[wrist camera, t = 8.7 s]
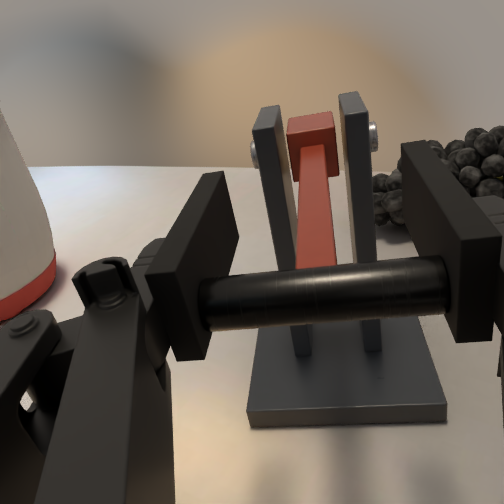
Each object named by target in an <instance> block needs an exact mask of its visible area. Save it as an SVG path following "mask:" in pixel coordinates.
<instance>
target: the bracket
mask: <svg viewBox="0 0 504 504" xmlns="http://www.w3.org/2000/svg"><path fill="white" fill-rule="evenodd" d="M338 98H339V110H340V121H341V132H342V143H343V154H344V165H345V176H346V187H347V199H348V210H349V221H350V232H351V243H352V254H353V263H360V262H369V261H377V251H376V234H375V216H374V199H373V182H372V167H371V166H372V165H371V152H375V151H377V150H378V135H377V128H376V123H375V122H374V121H373V122H369V114H368V110H367V109H366V107H365V105H364V103H363V101H362V99H361V97H360V95H359V93H358V92H357V91H355V92H349V93H344V94H339V96H338ZM252 134H253V140H254V141H252V142H251V157H252V161H253V165H254V168H255V169H259V171H260V176H261V181H262V187H263V192H264V197H265V202H266V208H267V213H268V218H269V223H270V228H271V234H272V239H273V244H274V249H275V254H276V260H277V265H278V270H279V271H280V270H290V269H295V266H296V242H297V214H296V207H295V201H294V194H293V188H292V182H291V175H290V169H289V162H288V157H287V149H286V143H285V137H284V130H283V124H282V117H281V111H280V106H279V105H275V106H269V107H264V108H261V110H260V112H259V115H258V117H257V119H256V122H255V124H254V127H253V129H252ZM246 412H247V416H248V419H249V423H250V426H251V427H271V426H304V425H336V424H369V423H402V422H435V421H446V420H447V401H446V398H445V395H444V392H443V389H442V387H441V384H440V381H439V378H438V375H437V372H436V369H435V366H434V363H433V360H432V357H431V354H430V351H429V348H428V345H427V343H426V340H425V337H424V334H423V331H422V328H421V325H420V322H419V319H418V316H413V317H400V318H386V319H373V320H360V321H347V322H333V323H320V324H307V325H294V326H280V327H267V328H259V330H258V336H257V343H256V350H255V356H254V363H253V370H252V376H251V383H250V390H249V396H248V403H247V409H246Z"/></svg>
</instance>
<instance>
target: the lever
mask: <svg viewBox="0 0 504 504" xmlns="http://www.w3.org/2000/svg"><path fill="white" fill-rule="evenodd" d="M286 136H287V143H288V149H289V156H290V162H291V169H292V175H293V181H294V182H299V194H298V218H297V242H296V266H295V269H290V270H280V271H270V272H260V273H250V274H241V275H231V276H221V277H211V278H204V279H203V280H202V281H201V283H200V286H199V291H198V309H199V315H200V319H201V323H202V325H203V327H204V329H205V330H206V331H208V332H214V331H227V330H241V329H254V328H267V327H280V326H294V325H307V324H320V323H333V322H347V321H360V320H373V319H386V318H400V317H413V316H426V315H439V314H447V313H448V312H449V309H450V304H451V290H450V282H449V276H448V272H447V268H446V265H445V263H444V260H443V259H442V257H441V256H440V255H429V256H419V257H409V258H399V259H389V260H379V261H369V262H360V263H350V264H340V265H337V258H336V248H335V239H334V230H333V220H332V211H331V202H330V192H329V183H328V177H334V176H339V165H338V164H339V163H338V153H337V143H336V133H335V125H334V120H333V115H332V112H331V111H329V112H323V113H317V114H311V115H305V116H299V117H294V118H289V120H288V127H287V134H286Z"/></svg>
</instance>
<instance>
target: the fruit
mask: <svg viewBox="0 0 504 504" xmlns="http://www.w3.org/2000/svg"><path fill="white" fill-rule="evenodd" d="M427 143H428V144H429V145H430V147H431V148H432V149H433V150H434V152H435V153H436V154H437V155H438V157H439V158H440V159H441V160H442V162H443V163H444V164H445V165H446V166H447V168H448V169H449V170H450V171H451V173H452V174H453V175H454V176H455V178H456V179H457V180H458V181H459V183H460V184H461V185H462V186H463V187H464V189H465V190H466V191H467V192H468V194H469V195H470V196H471V197H472V198H475V197H483V196H491V195H495V196H497V197H500V198H502V199H504V126H497V127H494V128H493V129H491V130H490V131H489V132H487V131H486V130H484V129H482V128H474V129H471V130H469V131H468V132H467V134H466V136H465V142H464V141H462V140H454V141H452V142H450V143H448V145H447V146H446V148H445V149H443V147H442V145H441V144H440V143H439V142H438V141H434V140H429V141H427ZM372 182H373V199H374V216H375V224H376V225H378V226H380V225H384V224H386V223H387V222H388V221H389V220H390V221H391V222H392V223H393V224H396V225H401V224H403V223H405V222H404V219H403V211H402V172H401V158H400V159H399V161H398V164H397V169H395V170H394V171H392V174H391V175H390V176H388V175H385V174H377V175H375V176H373V177H372Z"/></svg>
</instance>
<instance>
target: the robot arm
mask: <svg viewBox="0 0 504 504" xmlns="http://www.w3.org/2000/svg"><path fill="white" fill-rule="evenodd" d="M401 172H402V211H403V219H404V222H405V224H406V226H407V229H408V231H409V233H410V236H411V238H412V241H413V243H414V245H415V248H416V250H417V252H418V255H419V256H429V255H440V256H441V257H442V259H443V260H444V263H445V265H446V268H447V272H448V276H449V282H450V290H451V304H450V309H449V312H448V313H447V314H444V316H445V318H446V320H447V323H448V325H449V327H450V330H451V332H452V334H453V337H454V339H455V341H456V343H467V342H482V341H492V335H493V325H494V322H495V324H496V325H497V327H498V329H499V331H500V332H501V334H502V337H501V346H500V355H499V363H498V372H497V377H501V385H502V405H503V426H504V199H502V198H500V197H497V196H495V195H491V196H483V197H475V198H472V197H471V196H470V195H469V194H468V192H467V191H466V190H465V189H464V187H463V186H462V185H461V184H460V183H459V181H458V180H457V179H456V178H455V176H454V175H453V174H452V173H451V171H450V170H449V169H448V168H447V166H446V165H445V164H444V163H443V162H442V160H441V159H440V158H439V157H438V155H437V154H436V153H435V152H434V150H433V149H432V148H431V147H430V145H429V144H428V143H427V142H426V141H425V140H421V141H414V142H407V143H402V144H401ZM238 240H239V234H238V230H237V225H236V221H235V217H234V213H233V209H232V204H231V200H230V196H229V192H228V188H227V183H226V179H225V175H224V171H218V172H212V173H205V174H203V175H202V177H201V178H200V180H199V182H198V184H197V185H196V187H195V189H194V190H193V192H192V194H191V195H190V197H189V199H188V201H187V202H186V204H185V206H184V207H183V209H182V211H181V212H180V214H179V216H178V218H177V219H176V221H175V223H174V224H173V226H172V228H171V230H170V231H169V233H168V235H167V236H166V238H159V239H155V240H153V241H152V242H151V243H149V244H148V245H147V246H146V247H144V248H143V250H142V251H141V253H140V254H139V256H138V259H136V261H135V262H134V264H133V267H131V268H130V267H129V264H128V262H127V260H126V259H124V258H122V257H109V258H103V259H100V260H98V261H95V262H92V263H90V264H88V265H86V266H85V267H83V268H82V269H80V270H79V271H78V272H77V273H75V275H74V276H73V278H72V281H73V284H74V286H75V288H76V290H77V292H78V294H79V296H80V298H81V300H82V302H83V304H84V306H85V310H84V314H83V315H82V316H80V317H76V318H73V319H69V320H66V321H63V322H59V323H57V322H56V320H55V318H54V316H53V314H52V312H50V311H48V310H34V311H28V312H25V313H22V315H21V314H20V315H18V316H16V317H15V318H14V319H12V320H11V321H9V322H8V323H6V324H5V325H4V326H3V327H2V328H1V329H0V504H175V480H174V452H173V425H172V397H171V372H170V369H169V366H168V363H167V361H166V356H167V353H168V351H169V348H170V346H171V348H172V350H173V353H174V355H175V358H176V361H177V362H178V361H193V360H205V357H206V353H207V349H208V346H209V342H210V339H211V335H212V332H208V331H206V330H205V329H204V327H203V325H202V323H201V319H200V315H199V309H198V291H199V286H200V283H201V281H202V280H203V279H204V278H211V277H221V276H228V275H229V272H230V268H231V265H232V261H233V258H234V254H235V251H236V247H237V244H238ZM26 391H27V393H28V394H29V396H30V398H31V399H32V401H33V403H32V404H31V406H30V408H29V409H28V410H27V411H26V410H24V408H23V407H22V405H21V404H20V401H21V398H22V396H23V395H24V393H25V392H26Z"/></svg>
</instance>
